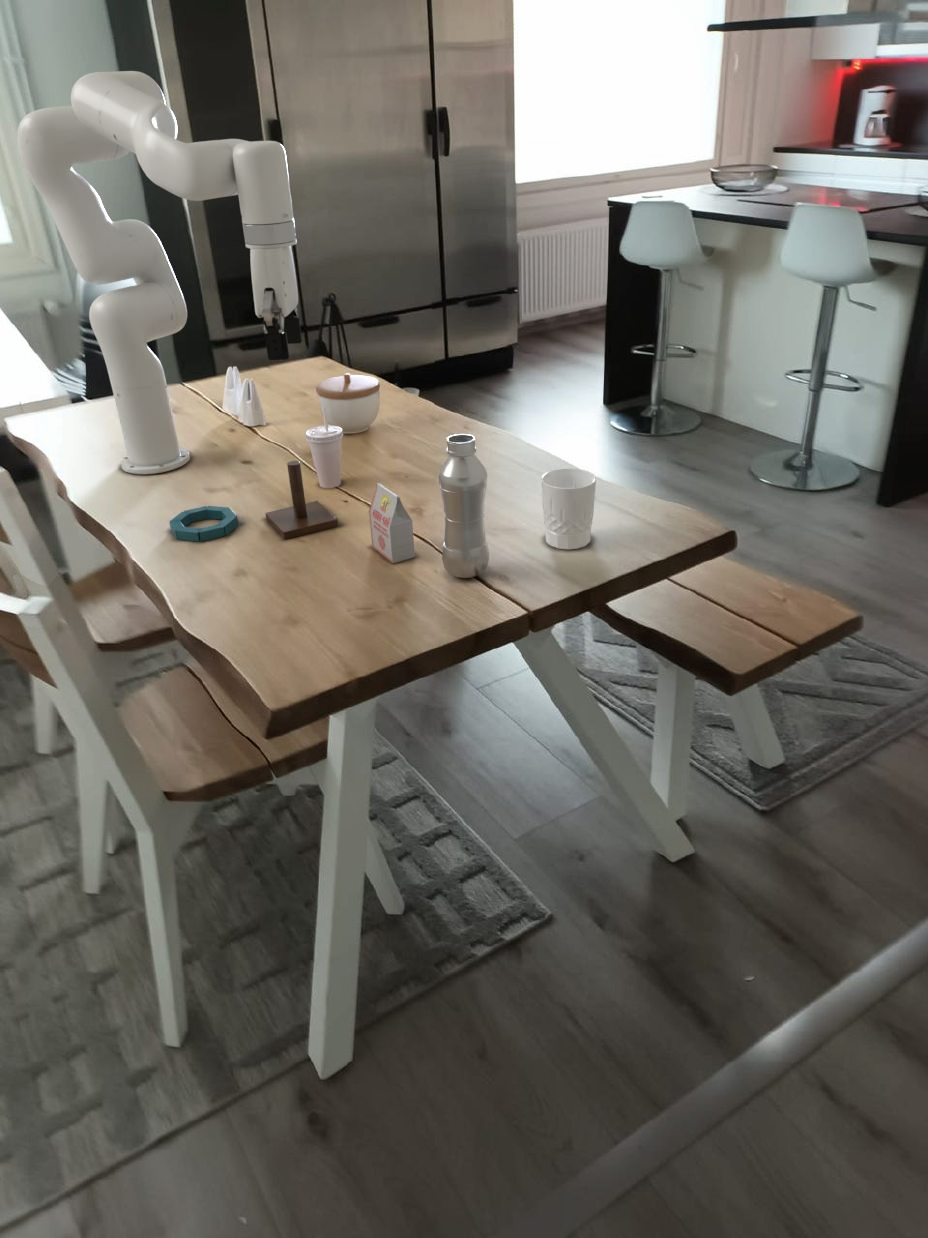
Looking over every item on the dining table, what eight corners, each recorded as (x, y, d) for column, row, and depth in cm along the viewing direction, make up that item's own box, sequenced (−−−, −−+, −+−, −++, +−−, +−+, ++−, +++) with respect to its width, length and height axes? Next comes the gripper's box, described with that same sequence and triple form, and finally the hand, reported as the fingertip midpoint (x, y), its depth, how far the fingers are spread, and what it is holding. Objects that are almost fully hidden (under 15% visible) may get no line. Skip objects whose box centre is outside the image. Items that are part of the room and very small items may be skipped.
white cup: (580, 555, 138) (581, 492, 133) (532, 545, 142) (532, 482, 137) (602, 535, 144) (605, 473, 139) (556, 525, 148) (557, 464, 143)
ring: (166, 524, 155) (164, 515, 154) (226, 510, 159) (224, 501, 158) (181, 546, 147) (179, 537, 146) (244, 531, 151) (242, 522, 150)
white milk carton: (393, 540, 145) (388, 479, 140) (414, 556, 140) (410, 494, 135) (372, 547, 144) (366, 485, 139) (392, 563, 139) (387, 500, 134)
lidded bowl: (395, 423, 194) (391, 369, 189) (357, 442, 185) (351, 386, 180) (347, 414, 200) (341, 362, 195) (308, 432, 191) (301, 378, 186)
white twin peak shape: (222, 416, 203) (213, 365, 197) (240, 412, 205) (231, 360, 200) (250, 429, 195) (241, 375, 189) (268, 424, 197) (260, 371, 191)
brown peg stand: (266, 519, 155) (256, 460, 149) (318, 507, 158) (310, 448, 153) (284, 539, 148) (275, 477, 143) (338, 525, 151) (331, 465, 146)
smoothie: (341, 491, 164) (332, 412, 156) (306, 490, 165) (296, 411, 158) (353, 477, 169) (344, 400, 162) (318, 476, 170) (309, 400, 163)
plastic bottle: (441, 564, 138) (433, 432, 128) (487, 560, 138) (483, 428, 128) (444, 585, 132) (436, 448, 122) (492, 581, 133) (488, 445, 123)
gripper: (258, 226, 148) (274, 338, 156) (229, 244, 133) (248, 366, 141) (306, 225, 147) (319, 336, 156) (282, 243, 132) (298, 365, 141)
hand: (285, 350), depth 149 cm, fingers open, 9 cm apart
